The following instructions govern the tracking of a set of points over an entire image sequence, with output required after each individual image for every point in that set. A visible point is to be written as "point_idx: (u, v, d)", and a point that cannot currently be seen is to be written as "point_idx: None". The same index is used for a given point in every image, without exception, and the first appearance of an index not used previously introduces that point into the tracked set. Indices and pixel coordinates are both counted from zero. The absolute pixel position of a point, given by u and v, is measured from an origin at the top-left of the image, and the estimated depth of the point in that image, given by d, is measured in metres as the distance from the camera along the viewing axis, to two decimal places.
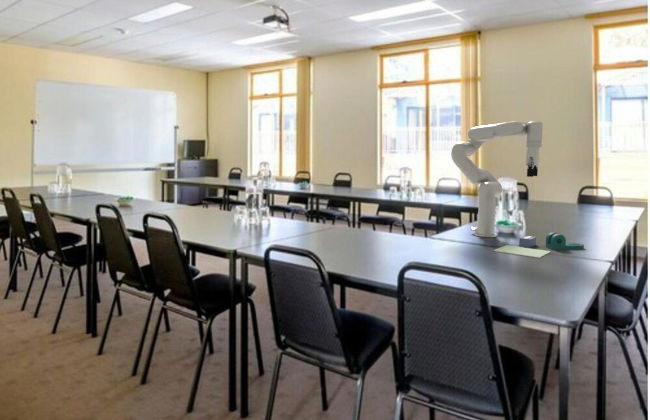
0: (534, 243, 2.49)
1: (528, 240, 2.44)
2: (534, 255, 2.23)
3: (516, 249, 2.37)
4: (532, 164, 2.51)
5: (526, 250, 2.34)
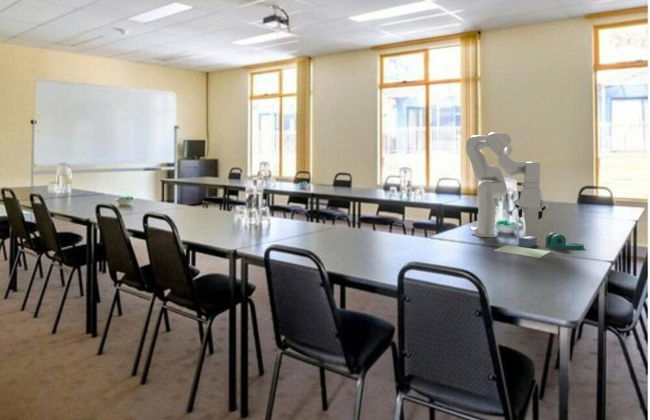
0: (534, 243, 2.48)
1: (527, 240, 2.44)
2: (534, 255, 2.23)
3: (516, 249, 2.37)
4: (540, 206, 2.43)
5: (526, 250, 2.34)
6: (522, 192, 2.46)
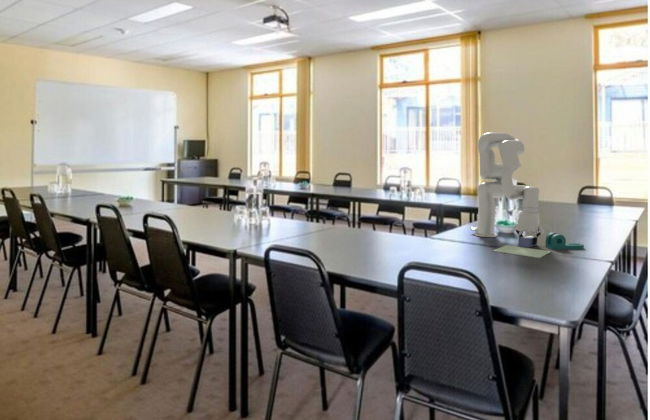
0: None
1: (526, 240, 2.44)
2: (534, 255, 2.23)
3: (516, 249, 2.37)
4: (536, 232, 2.46)
5: (526, 250, 2.34)
6: (520, 216, 2.47)
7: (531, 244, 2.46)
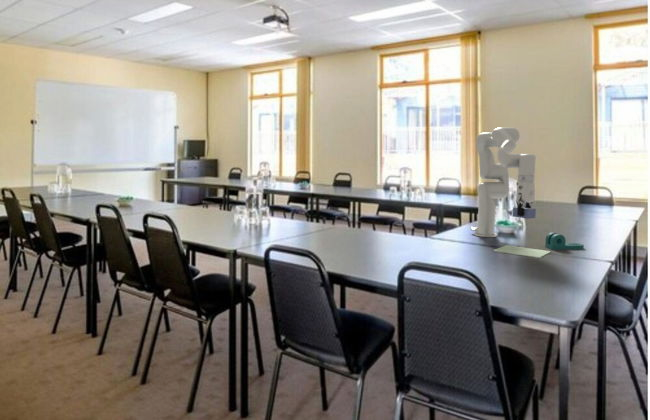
0: None
1: (534, 210, 2.31)
2: (534, 255, 2.23)
3: (516, 249, 2.37)
4: None
5: (526, 250, 2.34)
6: (527, 187, 2.29)
7: None
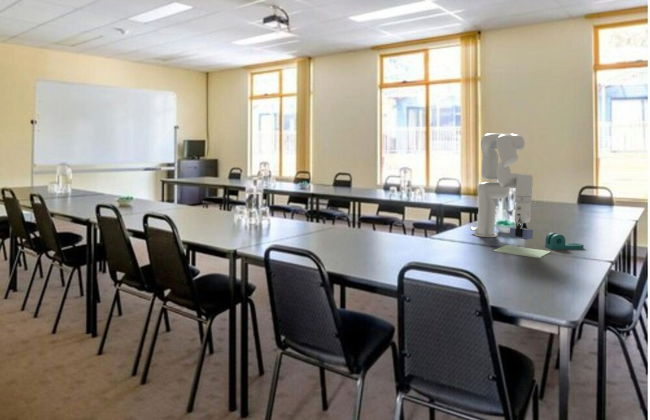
0: None
1: (532, 230, 2.30)
2: (534, 255, 2.23)
3: (516, 249, 2.37)
4: None
5: (526, 250, 2.34)
6: (525, 207, 2.27)
7: None
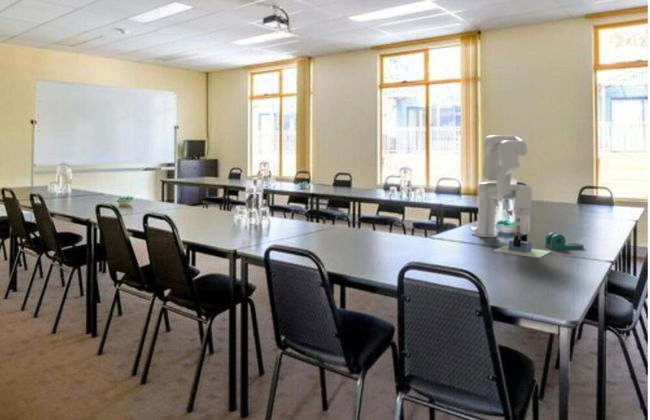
0: None
1: (530, 243, 2.31)
2: (534, 255, 2.23)
3: None
4: None
5: None
6: (524, 219, 2.28)
7: None
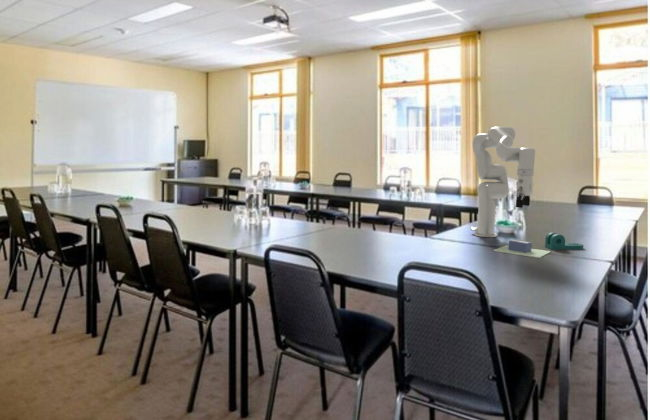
0: None
1: (530, 243, 2.31)
2: (534, 255, 2.23)
3: None
4: None
5: None
6: (527, 180, 2.32)
7: None
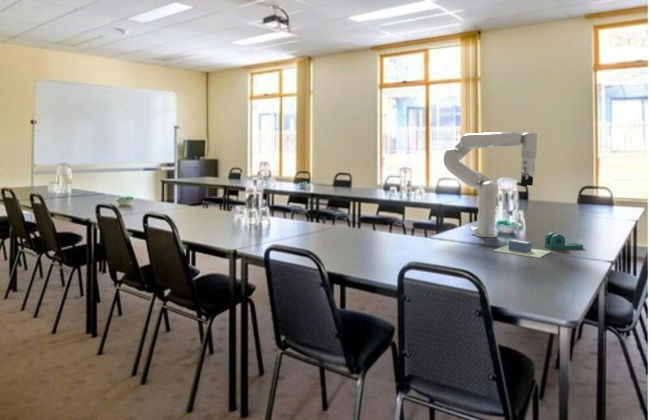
0: None
1: (530, 243, 2.31)
2: (534, 255, 2.23)
3: None
4: None
5: None
6: (530, 161, 2.58)
7: None
